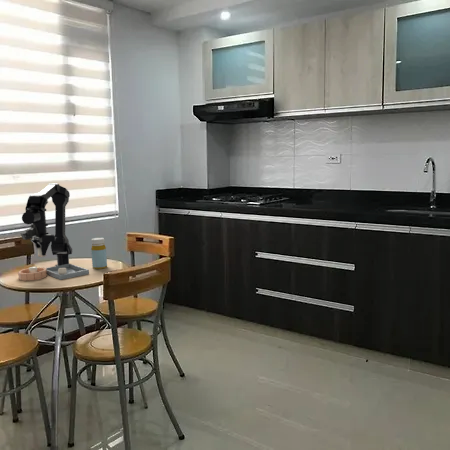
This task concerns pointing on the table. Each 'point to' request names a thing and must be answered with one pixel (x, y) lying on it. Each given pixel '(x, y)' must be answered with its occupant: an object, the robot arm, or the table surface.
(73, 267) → the tray
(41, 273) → the bowl
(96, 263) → the bottle
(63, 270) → the pebble
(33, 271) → the pebble
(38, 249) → the pebble
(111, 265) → the table surface
